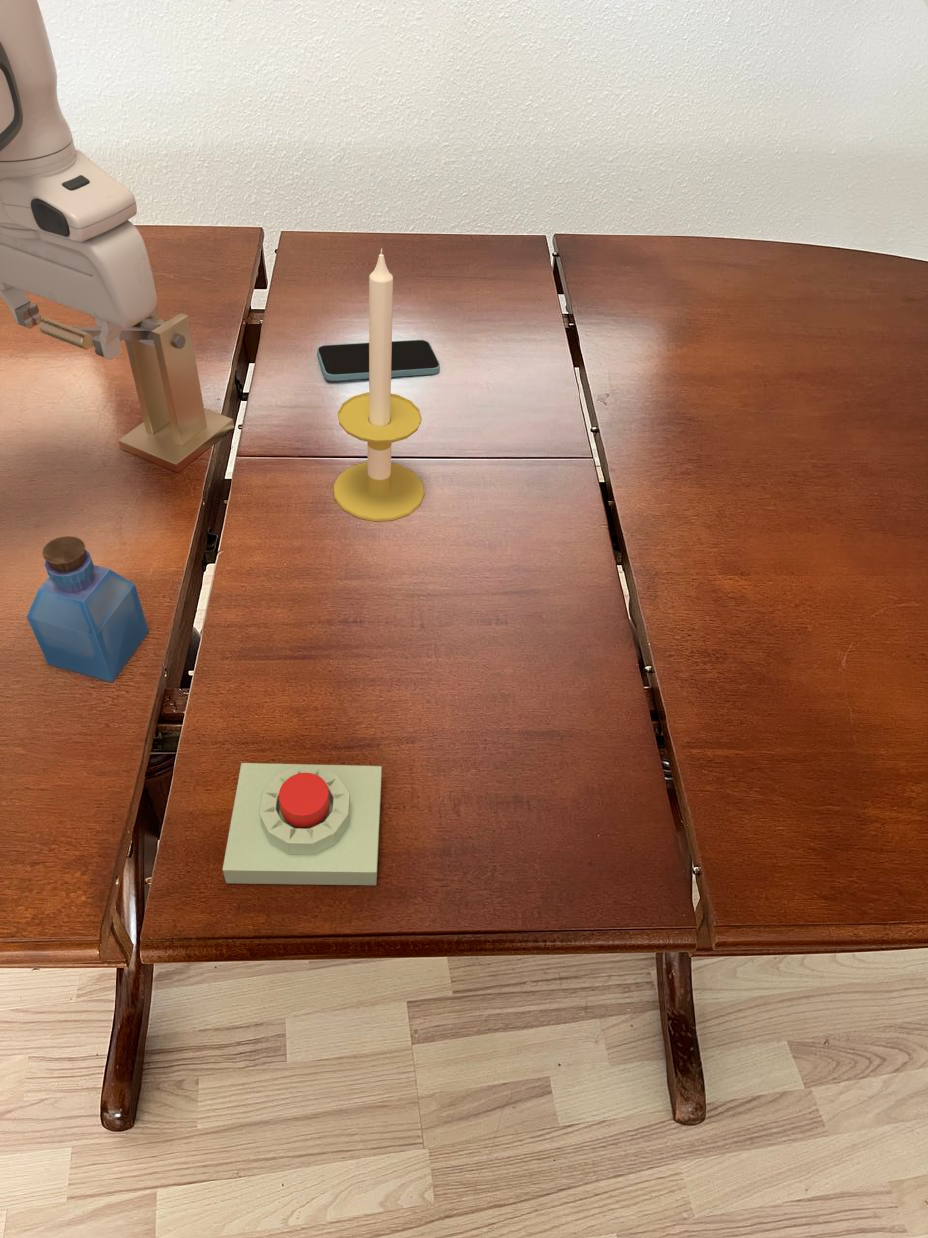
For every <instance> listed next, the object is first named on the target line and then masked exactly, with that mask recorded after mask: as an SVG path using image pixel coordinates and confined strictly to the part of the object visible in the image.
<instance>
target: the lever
mask: <svg viewBox="0 0 928 1238" xmlns="http://www.w3.org/2000/svg"><path fill="white" fill-rule="evenodd" d="M167 321H168V320H167ZM167 321H166V320H164V319H161V318H159V319H144V320H142V321H141V324H140V327H130V328H122V331H121V333H120V335H119V338H120V341H125V340H139V343H142V344H145V345H147V346H150V347H153V348H155V345H154V340H153V335H152V331H153V330H154V329H156V328H157V327H159V326H161V325H162V324H164V323H165V322H167ZM38 327H39V328H38V329H39V331H40V333H42V334H43V335H46V336H49V337H52V338H54V339H57V340H59V341H62V342H65V343H66V344H67V343H68V344H70V345H72V346H75V347H77V348H79V349H83V350H84V351H85V350H86V351H88V350H90V349H92V347H94V346H93V342H92V338H94V337H96V336H98V335H100V332H101V327H100V326H70V325H67V324H65V323H62V322H59V321H57V320H54V319H51V318H50V317H43V318H41V321H40V324H38Z"/></svg>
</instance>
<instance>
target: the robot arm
mask: <svg viewBox="0 0 928 1238" xmlns="http://www.w3.org/2000/svg"><path fill="white" fill-rule="evenodd" d="M137 213H138V206H137V201H136V198H135V195H134V193H133V191H132V190H131V189H130V188H129V187H128V186H126V185H125V184H123V183H122V182H120V181H119V180H117V179H116V178H114V177H113V176H112V175H111V174H109V173H108V172H106V171H105V170H104V169H102V168H101V167H99V166H98V165H97V164H96V163H95V162H93V161H92V160H91V159H90V158H89V157H88V156H87V155H86V154H85V153H84V152H82V151H80V150H79V149H76V146H75V142H74V138H73V134H72V131H71V127H70V125H69V124H68V121H67V120H66V118H65V116H64V113H63V112H62V109H61V106H60V103H59V98H58V73H57V68H56V63H55V59H54V54H53V50H52V46H51V43H50V38H49V35H48V32H47V28H46V24H45V21H44V18H43V14H42V12H41V8H40V5H39V2H38V0H0V298H1V299H2V300H3V302H4V303H5V304H6V306H7V307H8V308H9V309H10V312H11V315H12V318H13V321H14V323H15V324H16V325H18V326H21V327H24V328H26V329H29V330H30V329H33V328H34V327H36V326H39V324H40V321H41V320H42V316H41V315H40V310H39V309H40V308H39V306H38V303H34V302H32V301H31V300H30V298H29V296H28V295H27V293H28V294H32V295H34V296H36V297H40V298H42V299H45V300H48V301H51V302H53V303H56V304H58V305H61V306H64V307H67V308H69V309H72V310H73V311H74V310H75V311H76V312H79V313H83V314H85V315H88V316H90V317H93V319H94V323H95V325H96V327H101V332H100V335H98V336H96V337H94V338H92V342H93V346H92V347H93V348H94V352H95V354H96V355H98V356H100V357H102V358H103V359H107V360H110V361H113V360H114V359H116V358H118V357H119V356H120V355H122V352H123V347H122V342H121V340H120V338H119V335H120V333H121V331H122V328H130V327H132V326H134V325H136V324H137V323H139V322H141V321H142V320H144V319H145V318H147V317H149V316H150V315H151V314H152V313H153V311H154V309H155V307H156V305H157V306H158V304H157V303H158V297H157V289H156V285H155V280H154V275H153V269H152V265H151V262H150V258H149V254H148V249H147V247H146V244H145V241H144V238H143V236H142V235H141V233H140V231H139V230H138V228H137V227H136V226H135V225H134V224H133V223H132V222H131V221H130V219H132V218H133V217H135V216H136V215H137Z"/></svg>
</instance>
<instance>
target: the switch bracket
mask: <svg viewBox="0 0 928 1238" xmlns="http://www.w3.org/2000/svg"><path fill="white" fill-rule="evenodd" d="M145 319H160V314H159V309H158V304H157V305H156V307H155V309H154V311H153V313H152V314H151V315H150V316H149V317H147V318H145ZM190 323H191V322H190V316H189V315H188V314H186V313H182V312H180V313H178V314H176V315H175V316H173V317H172V318H169V319H168V320H167V322H165V323H164V324H162V325H161V326H159V327H157V328H156V329H154V330H153V331H152V335H153V340H154V345H155V348H153V347H150V346H147V345H145V344H142V343H139V340H124V343H125V347H126V351H127V356H128V360H129V364H130V369H131V372H132V377H133V381H134V385H135V389H136V394H137V398H138V403H139V408H140V412H141V416H142V420H143V421H142V422H141V423H140V424H138V425H136V427H134V428H133V429H131V430H130V431H129V432H127V433H126V434H124V435H123V436H122V437H120V438H119V439H118V440H117V442H118V446H119V448H120V450H122V451H125V452H127V453H129V454H132V455H134V456H136V457H139V458H141V459H144V460H146V461H147V462H150V463H153V464H155V465H158V466H160V467H162V468H164V469H166V470H170V471H172V472H175V473H177V474H179V473H180V472H181V471H182V470H184V469H185V468H186V467H188V466H189V465H190V464H191V463H193V462H194V461H195V460H196V459H197V458H199V457H200V456H201V455H202V454H204V453H205V452H206V451H207V450H209V449H210V448H211V447H212V446H214V445H215V444H216V443H217V442H219V441H220V440H221V439H222V438H223V437H225V436H226V435H227V434H228V433H230V432H231V431H232V430H234V428H235V423H234V418H231V417H228V416H226V415H224V414H221V413H218V412H216V411H213V410H211V409H209V408H205V406H204V400H203V394H202V389H201V383H200V378H199V371H198V365H197V359H196V353H195V349H194V348H195V347H194V341H193V336H192V330H191V326H190V325H191V324H190ZM140 324H141V322H139V323H137V324H136V325H134V326H132V327H140Z"/></svg>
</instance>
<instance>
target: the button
mask: <svg viewBox="0 0 928 1238" xmlns="http://www.w3.org/2000/svg"><path fill="white" fill-rule="evenodd" d="M279 803H280V809H281V813H282V816H283V817H284V819H285V820H286V821H287V822H288V823H290V824H292V825H294V826H297V827H309V826H313V825H315V824H317V823H319V822H320V821H321V820H322V819H323V818H324V817H325V816H326V815H327V813H328V810H329V806H330V801H329V789H328V786H327V784H326V782H325V781H324V780H323V779H322V778H321V777H319V776H318V775H315V774H312V773H299V774H296V775H293V776H291V777H290V778H288V779H287V780H286V781H285V782H284V783H283V785H282V786H281V788H280V791H279Z"/></svg>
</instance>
